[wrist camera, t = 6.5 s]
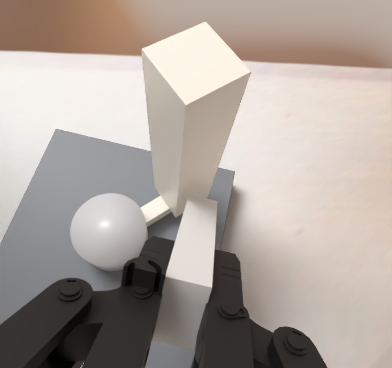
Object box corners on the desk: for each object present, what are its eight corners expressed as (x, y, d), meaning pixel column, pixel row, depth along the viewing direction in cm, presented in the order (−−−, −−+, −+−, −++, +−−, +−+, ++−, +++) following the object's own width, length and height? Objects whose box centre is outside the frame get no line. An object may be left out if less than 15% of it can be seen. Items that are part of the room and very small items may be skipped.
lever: (101, 285, 18) (-3, 237, 7) (70, 228, 19) (-64, 109, 8) (212, 212, 20) (267, 89, 9) (178, 165, 21) (191, 6, 10)
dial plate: (-19, 325, 19) (-41, 326, 17) (64, 143, 24) (55, 127, 22) (191, 376, 19) (194, 383, 17) (229, 182, 24) (235, 171, 22)
